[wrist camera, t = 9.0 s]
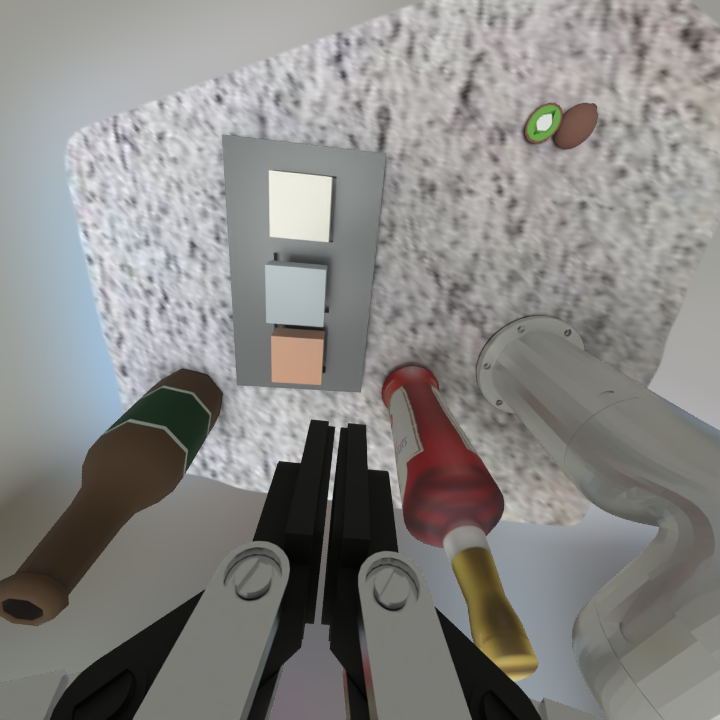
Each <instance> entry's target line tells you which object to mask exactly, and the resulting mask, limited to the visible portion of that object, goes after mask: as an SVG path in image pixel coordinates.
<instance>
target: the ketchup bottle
mask: <svg viewBox="0 0 720 720" xmlns="http://www.w3.org/2000/svg"><path fill="white" fill-rule="evenodd" d="M382 399H383V402H384V404H385V406H386V407H387V408H388V410H389V416H390V422H391V428H392V435H393V441H394V449H395V458H396V467H397V475H398V482H399V488H400V495H401V501H402V508H403V516H404V522H405V525H406V528H407V529H408V531H409V532H410V534H411V535H412V536H414V537H415V538H416V539H417V540H419V541H421V542H423V543H425V544H428V545H431V546H435V547H439V548H444V549H445V551H446V554H447V556H448V559H449V561H450V564H451V566H452V569H453V571H454V573H455V576H456V579H457V581H458V583H459V586H460V588H461V591H462V593H463V596H464V598H465V601H466V603H467V606H468V614H469V621H470V627H471V635H472V638H473V641H474V644H475V645H476V646H477V647H478V648H479V649H480V650H481V651H482V652H483V653H484V654H485V655H486V656H487V657H488V658H489V659H490V660H492V661H493V662H494V663H495V664H496V665H497V666H498V667H499V668H500V669H501V670H502V671H503V672H504V673H505V674H506V675H507V676H508V677H509V678H510V679H512V680H513V681H514V682H515V681H519V680H522V679H524V678H526V677H528V676H530V675H531V674H532V673H534V672H535V670H536V669H537V667H538V660H537V658H536V656H535V653H534V651H533V649H532V646H531V644H530V642H529V639H528V637H527V635H526V632H525V630H524V628H523V625H522V623H521V621H520V619H519V618H518V616H517V614H516V613H515V611H514V609H513V608H512V606H511V605H510V603H509V601H508V599H507V598H506V596H505V594H504V590H503V587H502V584H501V581H500V578H499V575H498V572H497V569H496V566H495V563H494V560H493V557H492V554H491V551H490V547H489V545H488V541H487V538H486V536H487V535H488V534H489V533H490V532H491V530H492V529H493V528H494V527H495V526H496V525H497V523H498V522H499V520H500V518H501V517H502V514H503V511H504V498H503V495H502V493H501V491H500V489H499V487H498V486H497V484H496V483H495V481H494V479H493V478H492V476H491V475H490V473H489V472H488V470H487V468H486V467H485V465H484V463H483V462H482V460H481V458H480V457H479V455H478V453H477V452H476V450H475V448H474V447H473V445H472V444H471V442H470V441H469V439H468V438H467V436H466V435H465V433H464V432H463V430H462V429H461V427H460V426H459V424H458V423H457V421H456V420H455V418H454V416H453V415H452V413H451V411H450V410H449V408H448V406H447V405H446V403H445V401H444V400H443V398H442V396H441V395H440V393H439V384H438V381H437V379H436V377H435V376H434V375H433V374H432V373H431V372H430V371H428V370H426V369H424V368H421V367H416V366H410V367H404V368H401V369H399V370H397V371H395V372H394V373H392V374H391V375H390V376H389V377H388V378H387V379H386V381H385V383H384V385H383V388H382Z"/></svg>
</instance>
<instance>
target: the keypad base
mask: <svg viewBox="0 0 720 720" xmlns="http://www.w3.org/2000/svg"><path fill="white" fill-rule="evenodd" d="M222 142H223V158H224V175H225V191H226V208H227V224H228V241H229V257H230V274H231V290H232V307H233V323H234V340H235V356H236V373H237V385H243V386H261V387H278V388H295V389H312V390H329V391H346V392H361V385H362V376H363V366H364V357H365V348H366V338H367V329H368V320H369V310H370V301H371V292H372V282H373V273H374V263H375V254H376V245H377V235H378V226H379V217H380V207H381V198H382V189H383V179H384V170H385V161H386V153H378V152H369V151H360V150H352V149H343V148H334V147H326V146H317V145H308V144H300V143H291V142H282V141H273V140H265V139H256V138H247V137H239V136H230V135H222ZM269 170H271V171H281V172H290V173H299V174H309V175H318V176H327V177H332V178H333V185H332V204H331V222H330V240H329V242H320V241H309V240H298V239H287V238H277V237H270V223H269ZM271 260H273V261H284V262H296V263H307V264H319V265H327V284H326V303H325V320H324V326H323V327H315V326H301V325H288V324H274V323H266V287H265V264H267V263H268V262H269V261H271ZM275 328H289V329H303V330H316V331H325V335H324V354H323V372H322V381H321V385H312V384H295V383H279V382H272V364H271V335H272V333H273V332H274V330H275Z"/></svg>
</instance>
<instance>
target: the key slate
mask: <svg viewBox="0 0 720 720" xmlns="http://www.w3.org/2000/svg"><path fill="white" fill-rule="evenodd" d="M326 284H327V265H319V264H307V263H296V262H284V261H273V260H271V261H269V262H268V263H267V264H265V287H266V323H274V324H288V325H301V326H315V327H323V326H324V320H325V303H326Z"/></svg>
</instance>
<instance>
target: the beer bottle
mask: <svg viewBox="0 0 720 720" xmlns="http://www.w3.org/2000/svg"><path fill="white" fill-rule="evenodd" d="M222 395H223V394H222V392H221V391H220V390H219V389H218V387H217V386H216V385H215V384H214V383H213V381H212V380H211V379H210V378H209V376H208V375H205V374H201V373H196V372H192V371H188V370H184V369H181V370H179V371H177V372H175V373H174V374H172V375H170V376H168V377H166V378H164V379H163V380H161V381H160V382H158V383H157V384H156V385H155V386H153V387H152V388H151V389H150V390H149V391H148V392H147V393H146V394H145V395H144V396H143V397H142V398H141V399H139V400H138V401H137V402H136V403H135V404H134V405H133V406H132V407H131V408H130V409H129V410H128V411H127V412H126V413H125V414H124V415H123V416H122V417H121V418H120V419H118V420H117V421H116V422H115V423H114V424H113V425H112V426H111V427H110V428H109V429H108V430H107V431H106V432H105V433H104V434H103V435H101V437H100V438H99V439H98V440H97V441H96V442H95V443H94V445H93V446H92V447H91V448H90V449H89V451H88V453H87V456H86V458H85V461H84V463H83V466H82V487H81V489H80V490H79V492H78V494H77V495H76V497H75V498H74V500H73V502H72V503H71V505H70V506H69V507H68V508H67V510H66V511H65V512H64V513H63V515H62V516H61V517H60V519H59V520H58V521H57V522H56V523H55V525H54V526H53V527H52V528H51V530H50V531H49V532H48V533H47V535H46V536H45V537H44V538H43V540H42V541H41V542H40V543H39V544H38V546H37V547H36V548H35V549H34V551H33V552H32V553H31V554H30V556H29V557H28V558H27V559H26V560H25V562H24V563H23V564H22V565H21V567H20V568H19V569H18V571H17V572H16V573H15V574H14V575H12V576H10V577H8V578H5V579H3V580H1V581H0V616H1V617H3V618H5V619H6V620H8V621H10V622H11V623H16V624H25V625H33V626H38V625H41V624H43V623H45V622H47V621H50V620H52V619H54V618H55V617H56V616H57V615H58V614H59V613H60V612H61V611H62V610H63V609H64V608H66V607H67V606H68V603H69V602H68V595H69V594H70V593H71V591H72V590H73V589H74V587H75V586H76V585H77V584H78V582H79V581H80V580H81V578H82V577H83V576H84V575H85V573H86V572H87V571H88V570H89V568H90V567H91V566H92V564H93V563H94V562H95V561H96V559H97V558H98V557H99V556H100V554H101V553H102V552H103V550H104V549H105V548H106V547H107V545H108V544H109V543H110V541H111V540H112V539H113V538H114V536H115V535H116V534H117V532H118V531H119V530H120V529H121V528H122V526H123V525H124V524H125V523H126V522H127V521H128V520H129V519H130V518H131V517H132V516H133V515H134V514H135V513H137V512H139V511H141V510H143V509H145V508H147V507H149V506H152V505H154V504H156V503H158V502H159V501H161V500H162V499H163V498H165V497H166V496H167V495H168V494H170V493H171V492H172V491H173V490H174V489H175V488H176V486H177V485H178V483H179V482H180V480H181V479H182V478H183V476H184V475H185V473H186V471H187V470H188V468H189V466H190V465H191V463H192V461H193V460H194V458H195V456H196V454H197V453H198V451H199V449H200V448H201V446H202V444H203V443H204V441H205V439H206V438H207V436H208V434H209V432H210V431H211V429H212V427H213V426H214V424H215V422H216V420H217V418H218V416H219V413H220V407H221V401H222Z"/></svg>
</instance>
